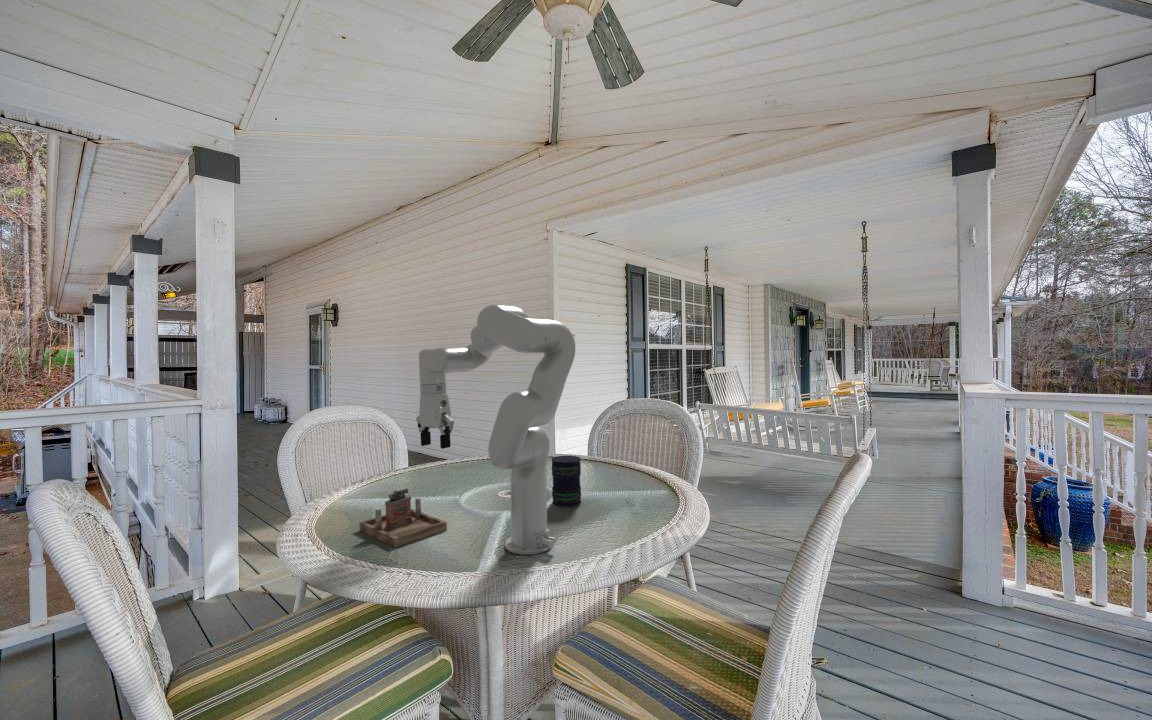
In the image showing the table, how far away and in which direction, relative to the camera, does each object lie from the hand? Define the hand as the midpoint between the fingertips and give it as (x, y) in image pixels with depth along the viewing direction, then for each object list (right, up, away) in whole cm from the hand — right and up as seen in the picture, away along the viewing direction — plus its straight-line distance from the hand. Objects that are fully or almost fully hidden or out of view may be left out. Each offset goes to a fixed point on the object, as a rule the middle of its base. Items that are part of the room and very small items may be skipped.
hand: (435, 446), depth 147 cm
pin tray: (-8, -23, -6) cm, 25 cm away
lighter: (-10, -22, -4) cm, 25 cm away
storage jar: (+39, -22, +17) cm, 48 cm away
